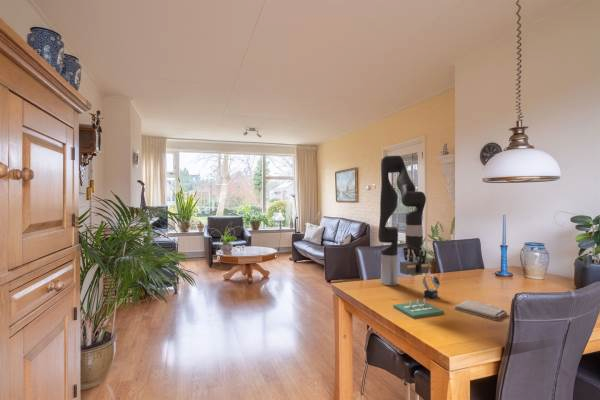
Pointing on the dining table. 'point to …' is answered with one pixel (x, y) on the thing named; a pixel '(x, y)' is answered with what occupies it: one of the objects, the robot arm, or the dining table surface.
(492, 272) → the dining table surface
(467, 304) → the washcloth
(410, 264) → the grey rectangular block
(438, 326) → the dining table surface
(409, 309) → the board
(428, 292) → the watch
